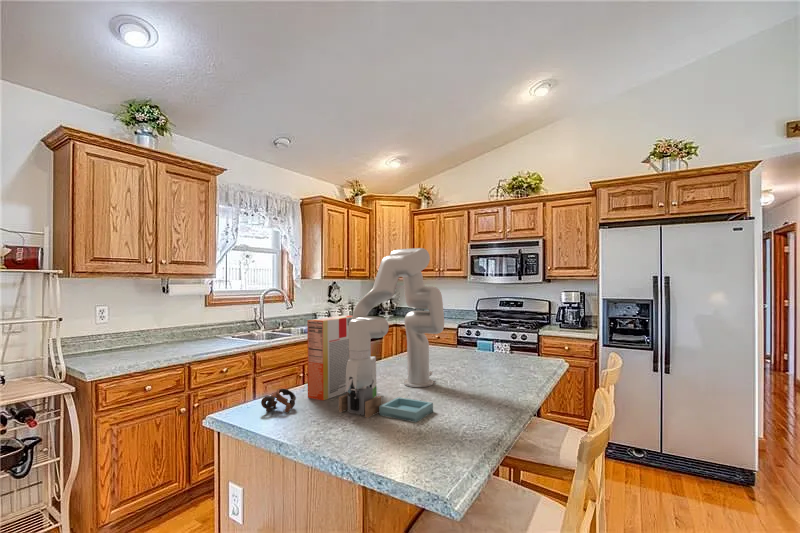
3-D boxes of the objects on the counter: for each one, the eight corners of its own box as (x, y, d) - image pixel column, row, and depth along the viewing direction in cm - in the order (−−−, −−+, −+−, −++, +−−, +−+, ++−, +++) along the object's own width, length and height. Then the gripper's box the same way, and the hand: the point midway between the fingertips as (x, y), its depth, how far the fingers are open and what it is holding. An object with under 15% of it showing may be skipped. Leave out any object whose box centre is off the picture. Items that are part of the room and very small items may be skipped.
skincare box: (371, 402, 149) (371, 360, 150) (354, 401, 151) (353, 359, 151) (377, 396, 158) (376, 356, 158) (360, 395, 159) (360, 355, 160)
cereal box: (345, 384, 177) (344, 315, 178) (359, 386, 172) (359, 316, 174) (307, 397, 157) (307, 320, 158) (323, 400, 153) (323, 320, 154)
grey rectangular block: (356, 408, 143) (356, 382, 144) (372, 411, 140) (372, 384, 140) (347, 412, 139) (347, 385, 140) (364, 415, 136) (363, 388, 136)
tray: (398, 405, 146) (398, 397, 146) (433, 411, 138) (432, 402, 138) (379, 415, 135) (379, 406, 135) (416, 422, 128) (415, 412, 128)
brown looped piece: (279, 405, 149) (290, 386, 148) (292, 422, 143) (303, 402, 142) (251, 405, 140) (262, 384, 139) (263, 423, 134) (275, 402, 133)
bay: (353, 405, 146) (353, 391, 146) (381, 410, 140) (381, 396, 140) (338, 411, 139) (338, 397, 139) (368, 417, 133) (367, 402, 133)
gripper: (365, 350, 149) (366, 399, 149) (335, 358, 135) (335, 412, 134) (382, 351, 146) (383, 402, 145) (353, 360, 131) (353, 416, 130)
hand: (360, 406), depth 140 cm, fingers open, 5 cm apart
